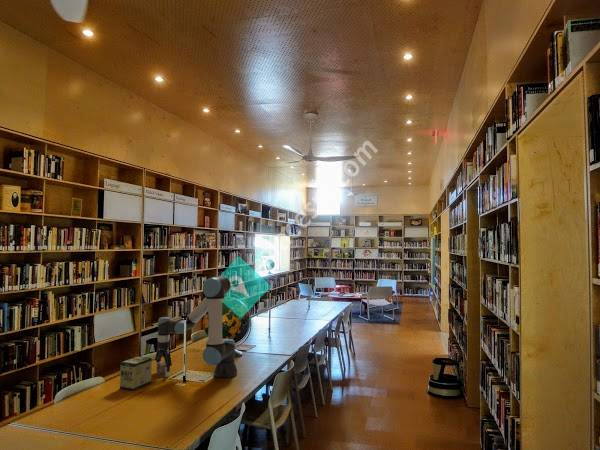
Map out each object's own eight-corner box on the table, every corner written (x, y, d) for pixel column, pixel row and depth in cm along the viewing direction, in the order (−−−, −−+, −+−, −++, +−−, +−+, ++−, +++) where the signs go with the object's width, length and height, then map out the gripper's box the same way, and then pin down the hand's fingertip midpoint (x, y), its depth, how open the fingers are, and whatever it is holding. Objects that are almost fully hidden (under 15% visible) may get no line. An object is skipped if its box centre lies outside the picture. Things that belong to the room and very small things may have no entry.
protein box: (119, 389, 242) (120, 362, 243) (138, 381, 256) (138, 355, 257) (133, 391, 238) (134, 364, 239) (151, 383, 253) (152, 357, 254)
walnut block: (169, 374, 270) (169, 363, 270) (160, 376, 266) (160, 365, 266) (165, 372, 274) (165, 362, 274) (156, 374, 270) (156, 363, 270)
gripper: (177, 343, 265) (177, 377, 264) (160, 337, 282) (159, 369, 281) (166, 345, 260) (166, 379, 258) (150, 338, 277) (149, 371, 276)
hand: (162, 374), depth 270 cm, fingers open, 12 cm apart
